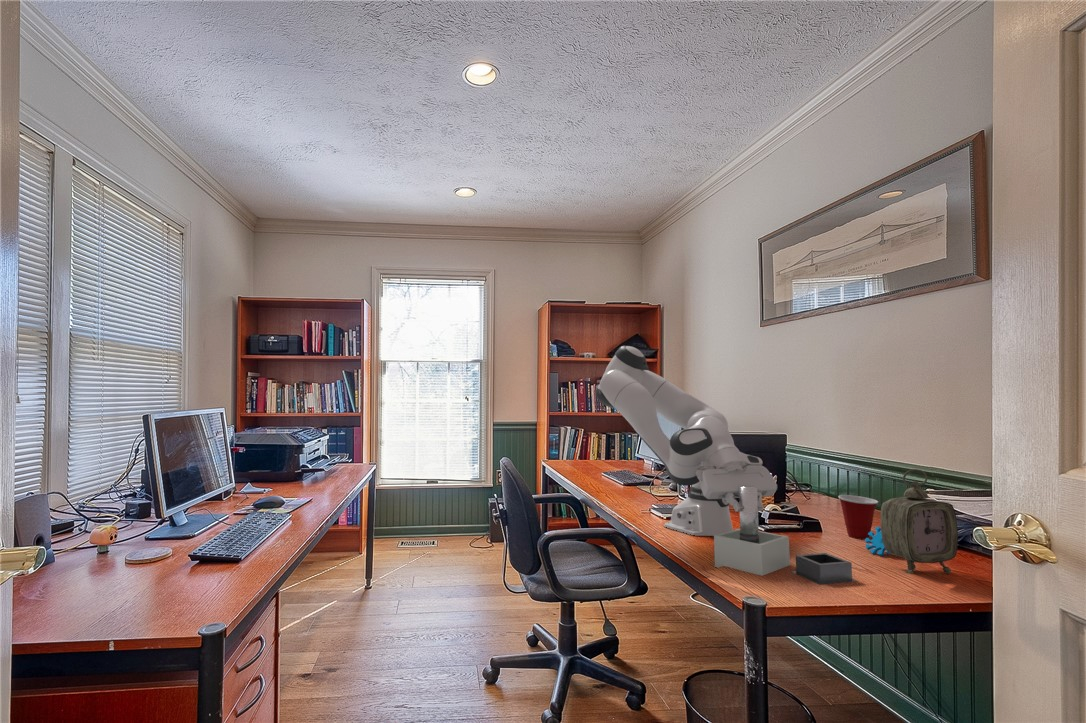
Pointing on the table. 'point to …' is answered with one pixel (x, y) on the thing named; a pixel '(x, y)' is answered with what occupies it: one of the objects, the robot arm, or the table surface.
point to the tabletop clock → (919, 527)
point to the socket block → (823, 568)
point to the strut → (749, 513)
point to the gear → (876, 542)
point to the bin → (752, 552)
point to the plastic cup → (858, 515)
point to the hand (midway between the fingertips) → (750, 509)
